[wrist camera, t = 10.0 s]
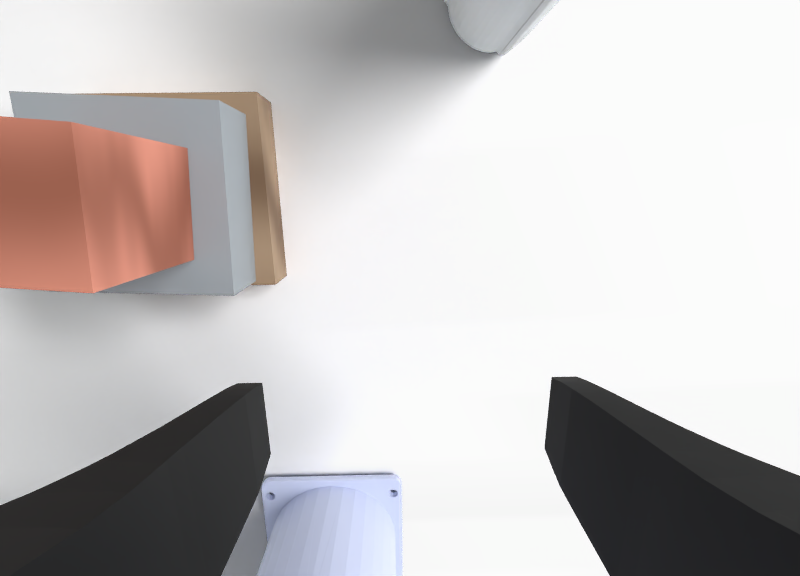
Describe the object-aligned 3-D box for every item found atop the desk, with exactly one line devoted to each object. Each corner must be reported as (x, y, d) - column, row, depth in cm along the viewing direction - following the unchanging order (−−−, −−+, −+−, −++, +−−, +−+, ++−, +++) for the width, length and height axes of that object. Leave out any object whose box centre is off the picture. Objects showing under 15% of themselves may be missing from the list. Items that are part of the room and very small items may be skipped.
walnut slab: (289, 273, 20) (275, 284, 17) (133, 276, 19) (96, 288, 17) (274, 105, 18) (256, 91, 15) (101, 107, 18) (54, 93, 15)
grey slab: (256, 281, 17) (233, 295, 15) (97, 276, 17) (49, 291, 15) (245, 114, 15) (219, 100, 13) (69, 107, 15) (9, 90, 13)
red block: (194, 259, 14) (93, 293, 9) (85, 252, 14) (-74, 283, 9) (187, 147, 13) (70, 121, 9) (70, 139, 13) (-115, 107, 8)
